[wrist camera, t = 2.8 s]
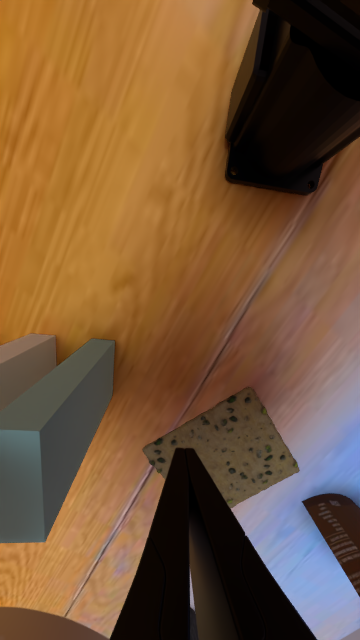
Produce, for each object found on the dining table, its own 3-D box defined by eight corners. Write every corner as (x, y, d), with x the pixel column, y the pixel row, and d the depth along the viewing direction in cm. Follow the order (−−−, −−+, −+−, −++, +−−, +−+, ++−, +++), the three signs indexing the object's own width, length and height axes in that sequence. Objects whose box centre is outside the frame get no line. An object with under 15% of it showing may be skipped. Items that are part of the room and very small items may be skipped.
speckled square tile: (202, 518, 20) (204, 530, 19) (139, 445, 18) (138, 454, 17) (298, 466, 20) (305, 475, 19) (248, 381, 17) (253, 387, 16)
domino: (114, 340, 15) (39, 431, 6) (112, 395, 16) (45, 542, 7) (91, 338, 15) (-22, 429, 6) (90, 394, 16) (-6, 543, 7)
